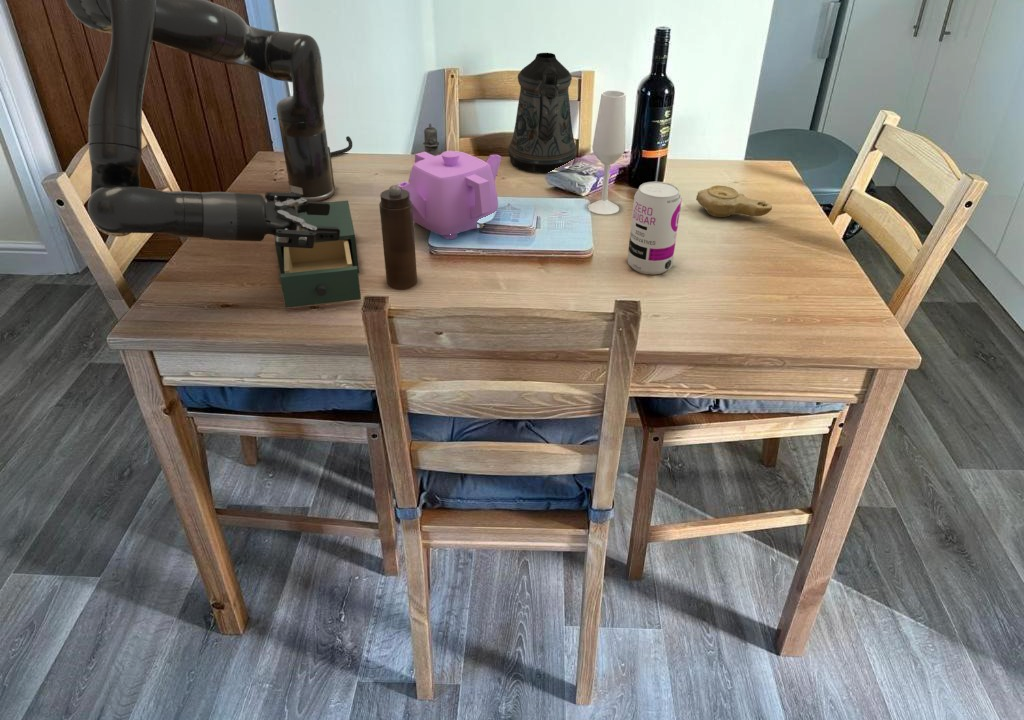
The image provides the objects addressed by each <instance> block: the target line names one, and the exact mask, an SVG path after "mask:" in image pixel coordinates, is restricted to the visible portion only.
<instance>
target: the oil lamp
mask: <svg viewBox="0 0 1024 720" xmlns="http://www.w3.org/2000/svg"><path fill="white" fill-rule="evenodd" d="M695 198H696V199H695V200H696V201H697V203H698V204H699V205H700V207H702V208H704V209H705V210H706V213H707V214H708V215H710V216H713V217H717V218H724V217H729V216H731V215H743V216H748V217H762V216H765V215H768V214H769V213H770V212H771V211H772V209H773V206H772V205H771V204H770V203H769V202H766V201H765V200H762V199H752V198H751V197H750V198H749V197H748V196H745V193H739V192H738V191H737V189H735V188H733V187H730V186H727V185H720V184H719V185H712V186H711V187H708V188H706V189H705V188H704V189H701V190H699V191H697V195H696V197H695Z"/></svg>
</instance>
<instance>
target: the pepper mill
mask: <svg viewBox="0 0 1024 720" xmlns="http://www.w3.org/2000/svg"><path fill="white" fill-rule="evenodd" d="M397 185H398V184H392V185H390V187H388V189H385V190H383V191H382V192H380V195H379V197H380V202H379V205H378V206H379V213H380V214H379V216H380V226H381V235H382V247H383V259H384V268H385V270H384V271H385V279H386V285H387V287H389V288H390V289H392V290H398V291H400V290H401V291H402V290H404V291H405V290H409V289H412V288H414V287H415V286H417V284H418V270H417V257H416V255H417V254H416V244H415V243H416V241H415V226H414V221H413V210H412V201H411V200H410V193H409V192H408V191H407V190H404V189H400V187H399V186H397Z"/></svg>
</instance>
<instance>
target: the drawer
mask: <svg viewBox="0 0 1024 720" xmlns="http://www.w3.org/2000/svg"><path fill="white" fill-rule="evenodd" d="M284 272H285V273H284V274H281V273H280V274H279V281H280V286H281V293H282V297H283V303H284V308H285V309H287V308H289V309H290V308H296V307H306V306H307V307H308V306H314V305H323V304H324V305H325V304H331V303H340V302H350V301H358V300H359V301H360V300H362V296H361V286H360V278H359V273H358V269H357V266H352V260H351V254H350V249H349V243H348V239H347V240H337V241H327V242H316V243H314V247H313V248H296V247H284Z"/></svg>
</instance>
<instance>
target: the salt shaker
mask: <svg viewBox="0 0 1024 720" xmlns="http://www.w3.org/2000/svg"><path fill="white" fill-rule="evenodd" d="M432 125H433V124H432V123H429V124H428V127H425V128H424V131H423V135H424V142H423V143H422V144H423V146H424V152H427V153H429V154H431V155H434V156H437V155H440V154H439V145H440V142H439V141H438V131H437V129H436V128H435V127H433V126H432Z"/></svg>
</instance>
